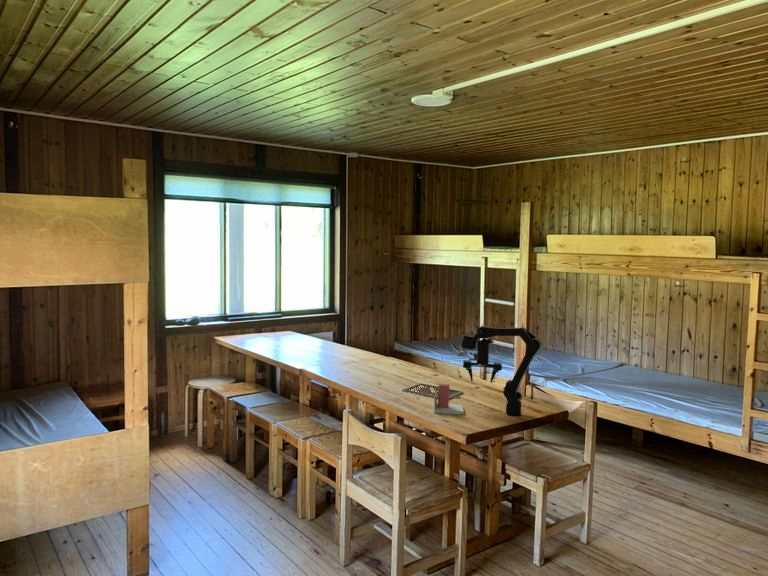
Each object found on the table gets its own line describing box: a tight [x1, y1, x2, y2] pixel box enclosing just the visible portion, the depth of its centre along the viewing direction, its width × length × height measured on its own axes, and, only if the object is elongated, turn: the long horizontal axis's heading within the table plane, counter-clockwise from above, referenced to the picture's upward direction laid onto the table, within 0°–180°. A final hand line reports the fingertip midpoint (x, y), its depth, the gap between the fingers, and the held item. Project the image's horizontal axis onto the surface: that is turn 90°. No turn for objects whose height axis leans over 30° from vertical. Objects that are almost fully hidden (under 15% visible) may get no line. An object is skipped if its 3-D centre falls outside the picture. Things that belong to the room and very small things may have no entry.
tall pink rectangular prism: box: [437, 383, 450, 408], centre depth 277 cm, size 5×4×11 cm
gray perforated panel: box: [401, 382, 464, 400], centre depth 308 cm, size 19×2×30 cm
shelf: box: [433, 391, 465, 415], centre depth 277 cm, size 14×12×8 cm
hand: (481, 382), depth 281 cm, fingers open, 9 cm apart
